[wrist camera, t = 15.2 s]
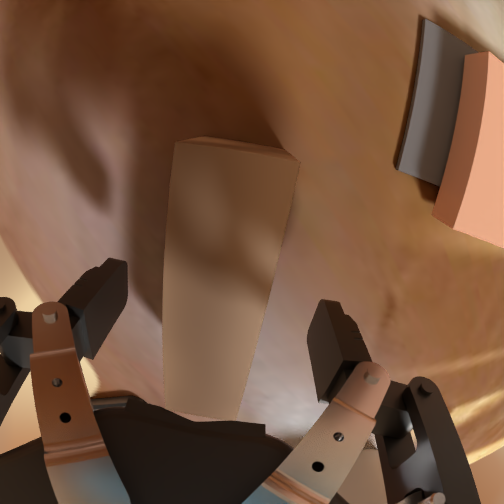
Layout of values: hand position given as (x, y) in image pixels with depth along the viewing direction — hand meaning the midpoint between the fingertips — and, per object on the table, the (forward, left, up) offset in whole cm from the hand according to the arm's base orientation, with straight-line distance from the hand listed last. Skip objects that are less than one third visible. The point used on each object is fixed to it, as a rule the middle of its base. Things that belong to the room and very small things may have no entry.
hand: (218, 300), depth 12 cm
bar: (0, 0, -3) cm, 3 cm away
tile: (-14, -5, -2) cm, 15 cm away
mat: (-14, -11, -3) cm, 18 cm away
